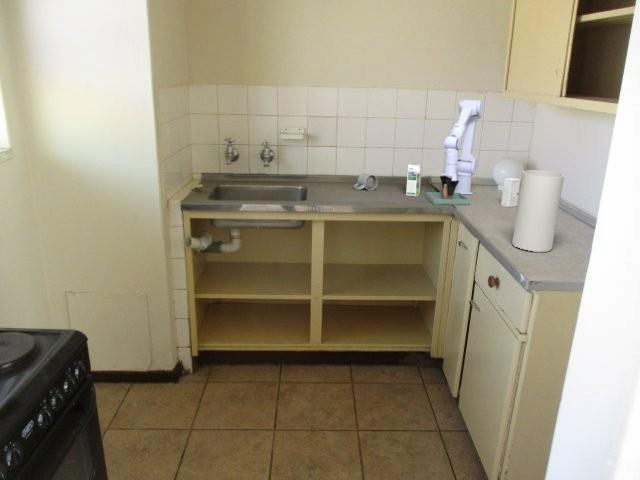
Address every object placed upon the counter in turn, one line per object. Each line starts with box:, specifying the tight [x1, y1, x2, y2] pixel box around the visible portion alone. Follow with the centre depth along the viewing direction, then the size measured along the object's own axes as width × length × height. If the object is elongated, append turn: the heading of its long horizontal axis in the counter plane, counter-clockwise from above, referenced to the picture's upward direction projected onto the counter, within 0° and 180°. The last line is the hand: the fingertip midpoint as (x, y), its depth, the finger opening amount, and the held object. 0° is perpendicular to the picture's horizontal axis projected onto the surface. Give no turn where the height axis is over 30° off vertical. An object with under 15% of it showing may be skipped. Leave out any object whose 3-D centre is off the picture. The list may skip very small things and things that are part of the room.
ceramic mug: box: [353, 173, 379, 191], centre depth 257 cm, size 11×8×8 cm
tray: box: [425, 191, 471, 206], centre depth 237 cm, size 14×16×2 cm
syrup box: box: [405, 163, 423, 197], centre depth 246 cm, size 6×6×14 cm
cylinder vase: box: [511, 169, 565, 253], centre depth 173 cm, size 12×12×25 cm
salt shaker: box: [442, 184, 455, 199], centre depth 236 cm, size 5×5×7 cm
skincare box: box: [500, 177, 521, 208], centre depth 231 cm, size 6×4×12 cm
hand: (447, 193), depth 237 cm, fingers open, 7 cm apart
